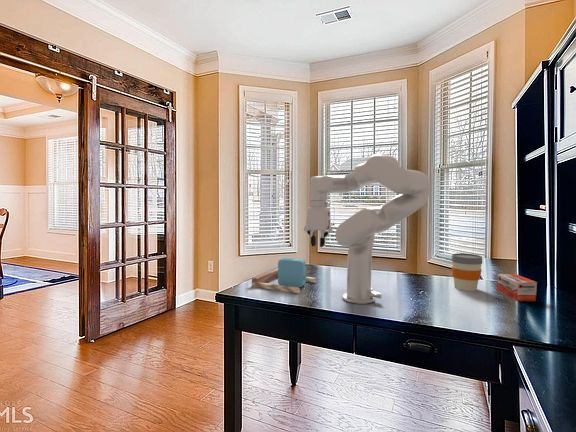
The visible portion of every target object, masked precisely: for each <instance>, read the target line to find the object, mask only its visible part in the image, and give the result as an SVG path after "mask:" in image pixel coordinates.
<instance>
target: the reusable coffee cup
mask: <svg viewBox="0 0 576 432" xmlns="http://www.w3.org/2000/svg"><path fill="white" fill-rule="evenodd" d="M451 262H452V263H451V264H452V266H451V273H452V277H453V284H454V289H456V290H458V291H463V292H475V291H477V289H478V284H479V280H480V279H481V274H482V269H481V268H482V264H483V256H482V255H479V254H473V253H465V252H464V253H463V252H462V253H461V252H460V253H459V252H457V253H453V254H452V255H451Z"/></svg>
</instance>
